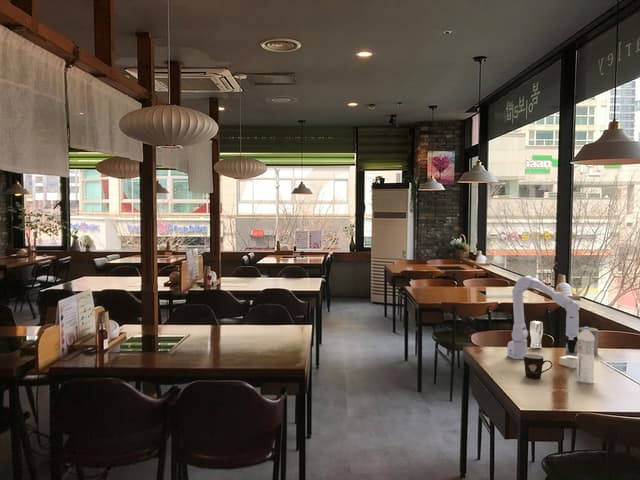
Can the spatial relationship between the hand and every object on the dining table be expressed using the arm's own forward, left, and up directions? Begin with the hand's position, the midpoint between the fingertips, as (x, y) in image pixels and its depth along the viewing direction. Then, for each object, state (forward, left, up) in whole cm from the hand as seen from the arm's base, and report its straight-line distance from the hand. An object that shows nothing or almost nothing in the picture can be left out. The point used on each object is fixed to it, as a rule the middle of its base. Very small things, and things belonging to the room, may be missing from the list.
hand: (571, 351), depth 263 cm
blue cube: (0, 0, -2) cm, 2 cm away
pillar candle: (+28, +20, -7) cm, 35 cm away
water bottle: (-15, -26, -7) cm, 31 cm away
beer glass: (+8, +38, -7) cm, 39 cm away
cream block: (0, 0, -7) cm, 7 cm away
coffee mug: (-33, -16, -7) cm, 37 cm away
